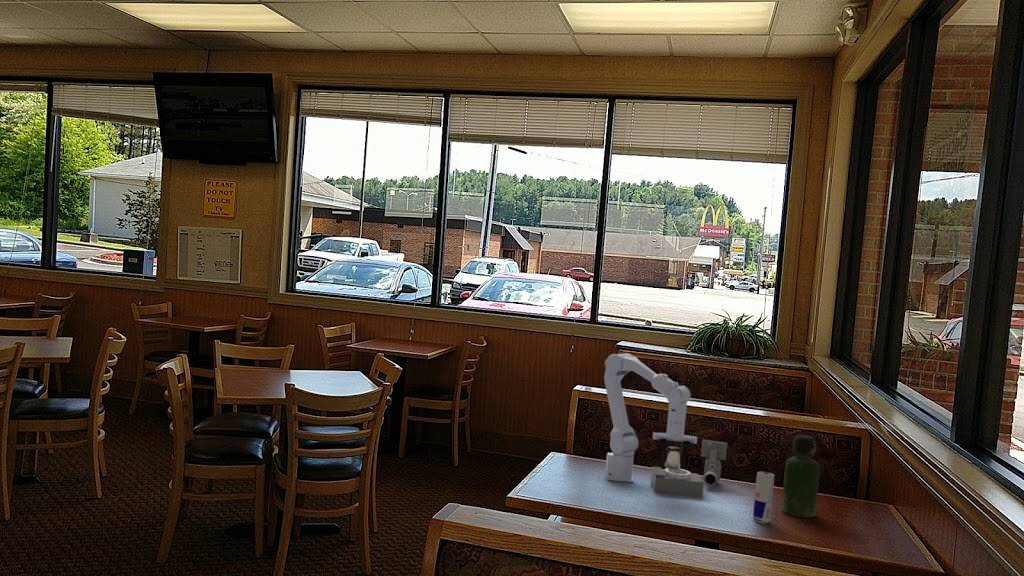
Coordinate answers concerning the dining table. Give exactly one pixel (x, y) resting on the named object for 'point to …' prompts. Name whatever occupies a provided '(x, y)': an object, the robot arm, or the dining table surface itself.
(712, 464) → the camera
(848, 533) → the dining table surface
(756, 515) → the beverage can
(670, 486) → the mount block
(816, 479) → the green bottle
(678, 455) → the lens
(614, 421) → the robot arm
